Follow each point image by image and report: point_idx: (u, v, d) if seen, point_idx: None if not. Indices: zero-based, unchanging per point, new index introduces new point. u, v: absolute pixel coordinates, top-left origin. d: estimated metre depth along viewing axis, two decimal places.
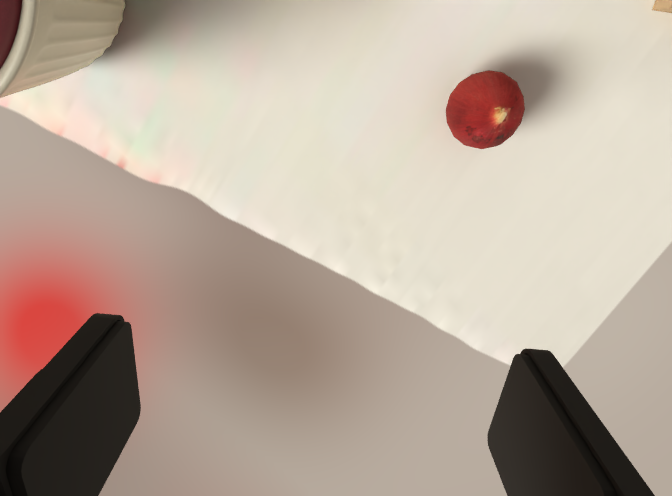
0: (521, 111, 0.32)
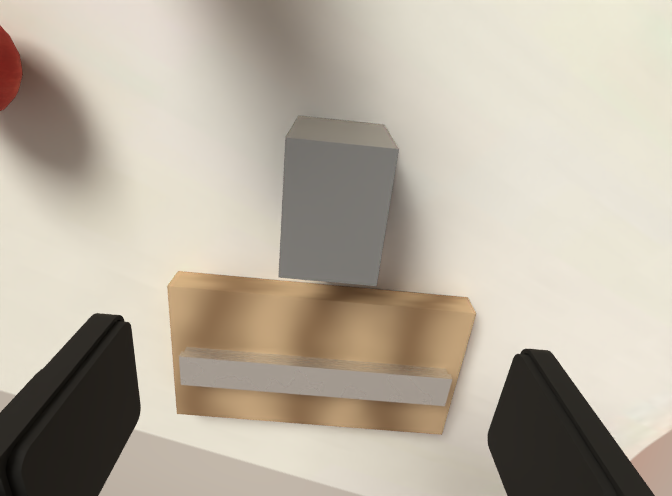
0: None
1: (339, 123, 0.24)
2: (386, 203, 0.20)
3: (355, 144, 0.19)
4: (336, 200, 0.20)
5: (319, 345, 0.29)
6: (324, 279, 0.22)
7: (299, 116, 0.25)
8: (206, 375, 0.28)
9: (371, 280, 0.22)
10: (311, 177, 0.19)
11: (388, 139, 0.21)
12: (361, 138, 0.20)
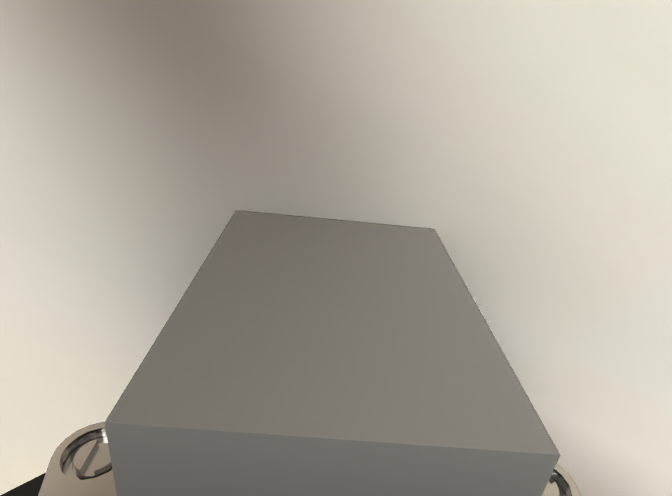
0: None
1: (330, 240, 0.10)
2: None
3: (388, 435, 0.05)
4: None
5: None
6: None
7: (237, 214, 0.10)
8: None
9: None
10: None
11: (481, 339, 0.07)
12: (400, 352, 0.06)
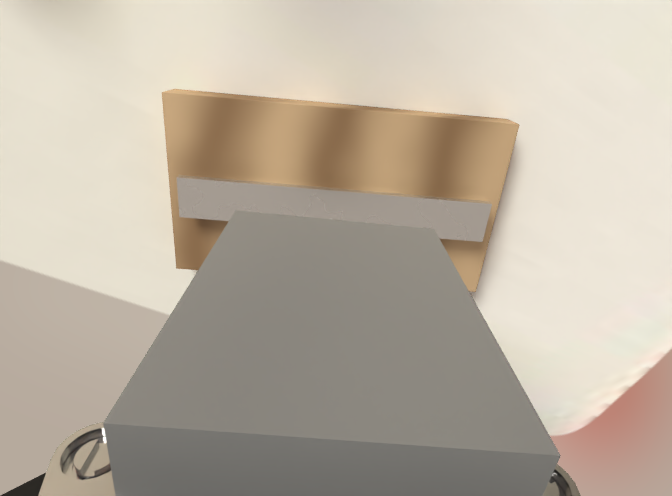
0: None
1: (330, 240, 0.10)
2: None
3: (388, 435, 0.05)
4: None
5: (337, 172, 0.25)
6: None
7: (236, 214, 0.10)
8: (208, 203, 0.25)
9: None
10: None
11: (481, 339, 0.07)
12: (400, 352, 0.06)
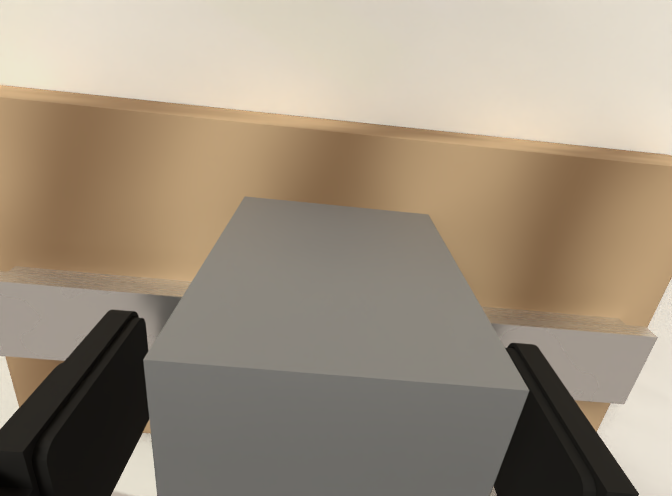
0: None
1: (332, 222, 0.10)
2: None
3: (383, 373, 0.06)
4: None
5: None
6: None
7: (245, 199, 0.11)
8: (52, 330, 0.11)
9: None
10: (241, 459, 0.06)
11: (467, 304, 0.08)
12: (395, 313, 0.07)
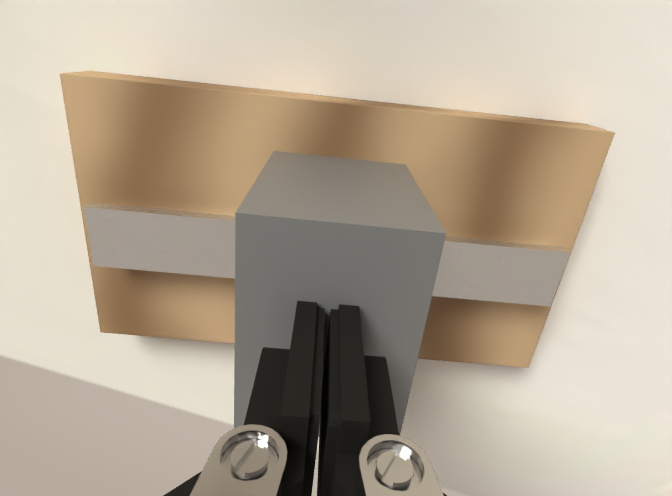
0: None
1: (336, 165, 0.15)
2: (419, 321, 0.11)
3: (366, 224, 0.10)
4: None
5: None
6: None
7: (274, 152, 0.16)
8: (136, 246, 0.16)
9: None
10: (285, 279, 0.11)
11: (420, 203, 0.12)
12: (375, 204, 0.12)
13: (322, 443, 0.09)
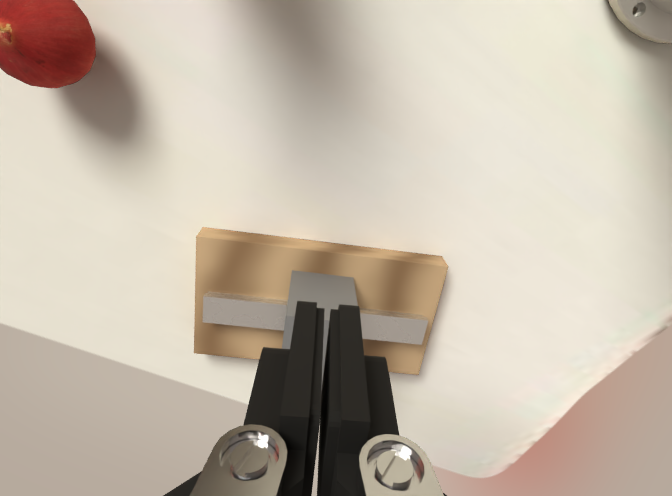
0: (28, 73, 0.24)
1: (321, 281, 0.33)
2: None
3: None
4: None
5: None
6: None
7: (292, 271, 0.34)
8: (225, 314, 0.34)
9: None
10: None
11: None
12: (336, 308, 0.30)
13: (322, 443, 0.09)
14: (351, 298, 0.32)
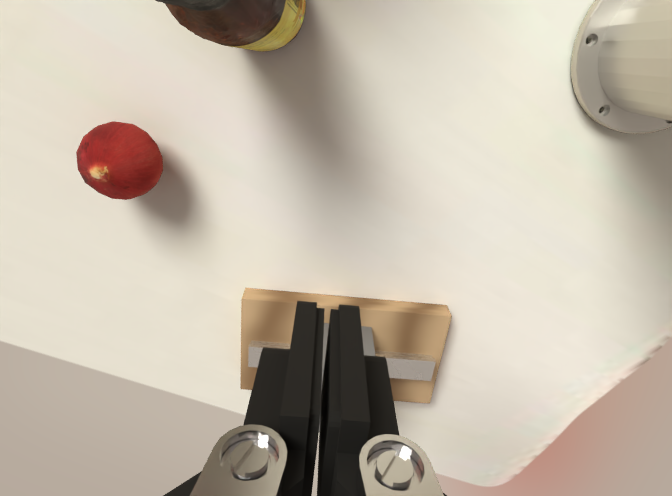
0: (117, 195, 0.32)
1: None
2: None
3: None
4: None
5: None
6: None
7: None
8: None
9: None
10: None
11: None
12: None
13: (322, 443, 0.09)
14: (370, 349, 0.38)
